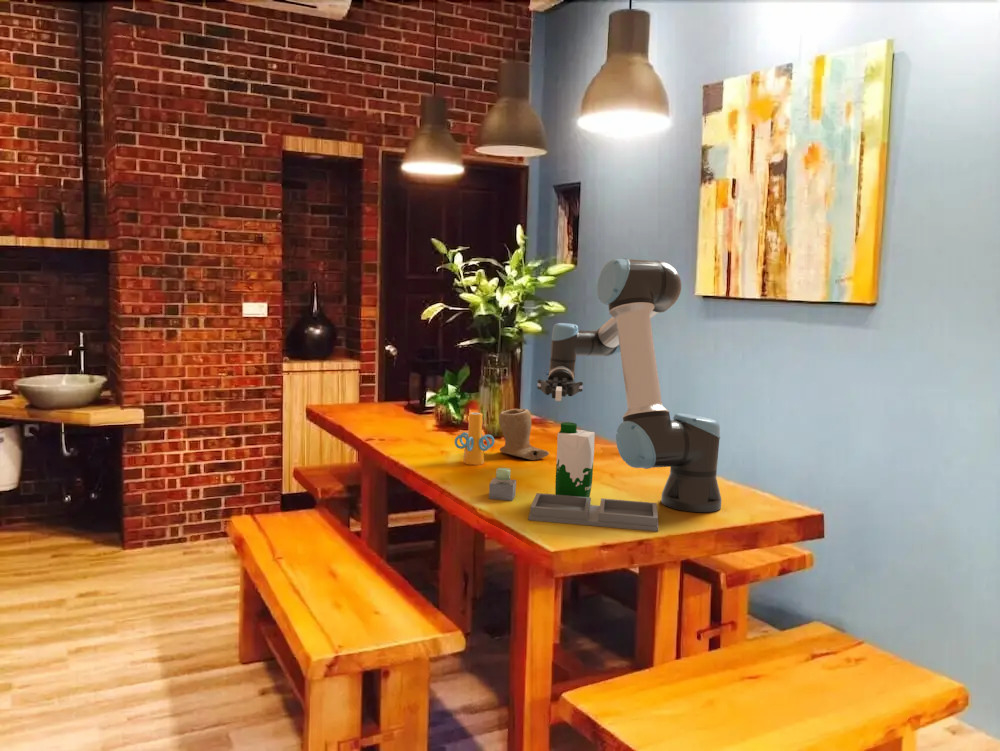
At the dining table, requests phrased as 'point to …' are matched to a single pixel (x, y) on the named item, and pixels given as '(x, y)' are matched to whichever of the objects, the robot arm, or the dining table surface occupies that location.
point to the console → (502, 489)
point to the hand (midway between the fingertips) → (558, 395)
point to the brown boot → (518, 435)
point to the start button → (503, 474)
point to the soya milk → (574, 461)
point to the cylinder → (474, 441)
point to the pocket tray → (594, 512)
